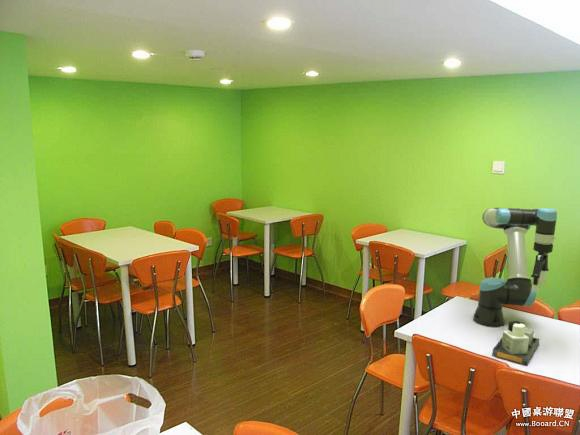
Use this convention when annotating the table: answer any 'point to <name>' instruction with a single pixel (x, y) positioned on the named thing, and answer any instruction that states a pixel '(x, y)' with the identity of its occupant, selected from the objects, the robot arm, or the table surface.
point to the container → (515, 338)
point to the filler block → (529, 334)
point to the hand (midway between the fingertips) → (538, 287)
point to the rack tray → (516, 358)
